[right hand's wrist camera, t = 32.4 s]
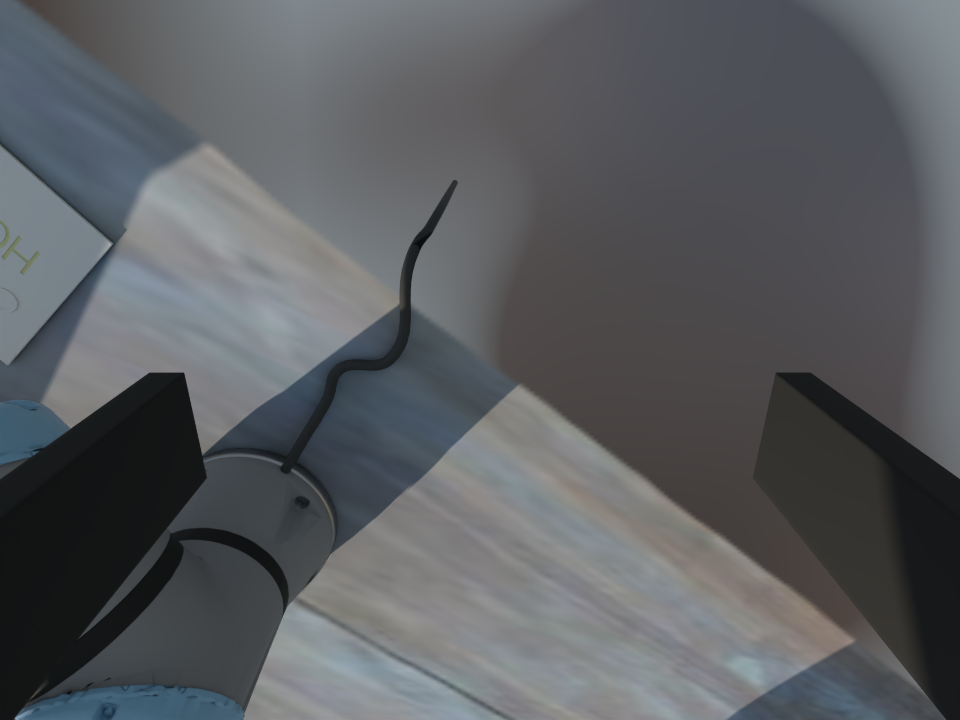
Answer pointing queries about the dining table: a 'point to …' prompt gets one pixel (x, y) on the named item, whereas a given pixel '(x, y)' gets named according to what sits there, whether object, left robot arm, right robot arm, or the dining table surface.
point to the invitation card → (38, 254)
